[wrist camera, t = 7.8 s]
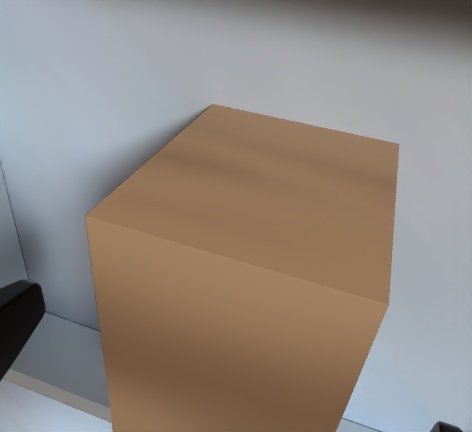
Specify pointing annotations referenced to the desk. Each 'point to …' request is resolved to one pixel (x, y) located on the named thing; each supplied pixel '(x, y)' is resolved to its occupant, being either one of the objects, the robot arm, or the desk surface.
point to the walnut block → (243, 275)
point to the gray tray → (63, 344)
